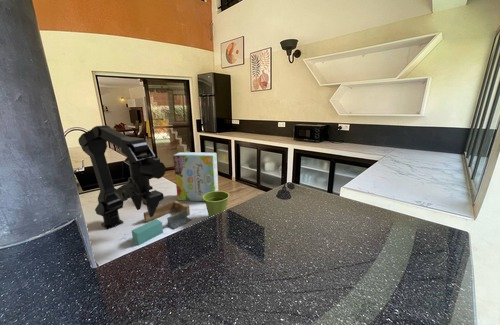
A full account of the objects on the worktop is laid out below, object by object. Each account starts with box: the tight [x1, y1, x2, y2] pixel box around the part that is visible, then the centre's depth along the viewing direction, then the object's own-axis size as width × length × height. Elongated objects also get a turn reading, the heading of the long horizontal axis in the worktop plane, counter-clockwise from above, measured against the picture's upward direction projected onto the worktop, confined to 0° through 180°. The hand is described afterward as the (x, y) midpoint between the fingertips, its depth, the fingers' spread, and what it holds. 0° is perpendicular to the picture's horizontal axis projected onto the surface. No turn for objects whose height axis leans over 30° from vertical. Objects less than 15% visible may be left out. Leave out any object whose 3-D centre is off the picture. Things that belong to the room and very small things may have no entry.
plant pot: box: [203, 190, 230, 218], centre depth 95 cm, size 12×12×11 cm
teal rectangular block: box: [131, 218, 164, 246], centre depth 82 cm, size 4×10×5 cm, turn 145°
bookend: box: [166, 210, 192, 230], centre depth 92 cm, size 4×9×4 cm, turn 145°
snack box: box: [172, 151, 219, 202], centre depth 114 cm, size 22×9×26 cm, turn 84°
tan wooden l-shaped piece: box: [143, 199, 191, 224], centre depth 96 cm, size 11×16×4 cm
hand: (144, 213), depth 80 cm, fingers open, 9 cm apart
